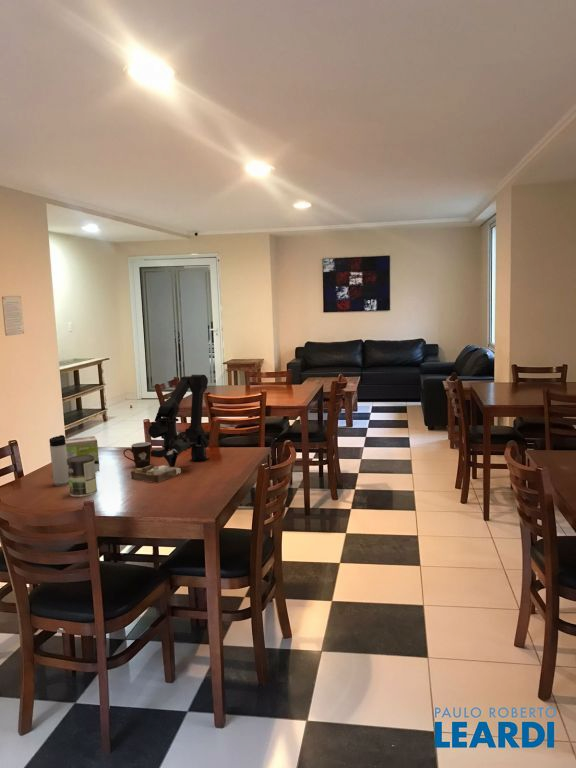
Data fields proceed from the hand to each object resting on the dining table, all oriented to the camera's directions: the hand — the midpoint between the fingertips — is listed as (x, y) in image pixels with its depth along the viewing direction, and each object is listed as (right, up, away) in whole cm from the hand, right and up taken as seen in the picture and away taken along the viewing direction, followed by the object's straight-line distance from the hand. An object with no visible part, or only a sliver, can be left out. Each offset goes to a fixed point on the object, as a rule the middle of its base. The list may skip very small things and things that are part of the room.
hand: (172, 468), depth 268 cm
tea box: (-42, -3, +7) cm, 43 cm away
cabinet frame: (-6, -3, -8) cm, 11 cm away
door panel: (-2, -2, -3) cm, 5 cm away
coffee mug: (-17, -1, +12) cm, 21 cm away
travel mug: (-44, -5, -11) cm, 46 cm away
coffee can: (-30, -6, -25) cm, 40 cm away
